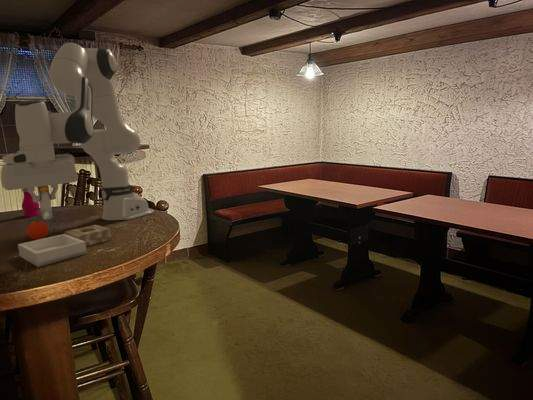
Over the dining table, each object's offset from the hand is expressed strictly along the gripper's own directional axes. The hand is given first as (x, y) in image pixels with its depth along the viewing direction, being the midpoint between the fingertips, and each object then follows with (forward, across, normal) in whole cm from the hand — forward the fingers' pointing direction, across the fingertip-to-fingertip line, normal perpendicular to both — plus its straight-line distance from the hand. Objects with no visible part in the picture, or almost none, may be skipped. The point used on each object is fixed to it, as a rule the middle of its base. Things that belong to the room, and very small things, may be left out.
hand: (44, 200), depth 117 cm
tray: (+18, 0, 0) cm, 18 cm away
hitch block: (+18, -14, -6) cm, 23 cm away
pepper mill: (+18, -18, -75) cm, 79 cm away
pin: (+6, 0, 0) cm, 6 cm away
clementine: (+18, -4, -25) cm, 31 cm away
